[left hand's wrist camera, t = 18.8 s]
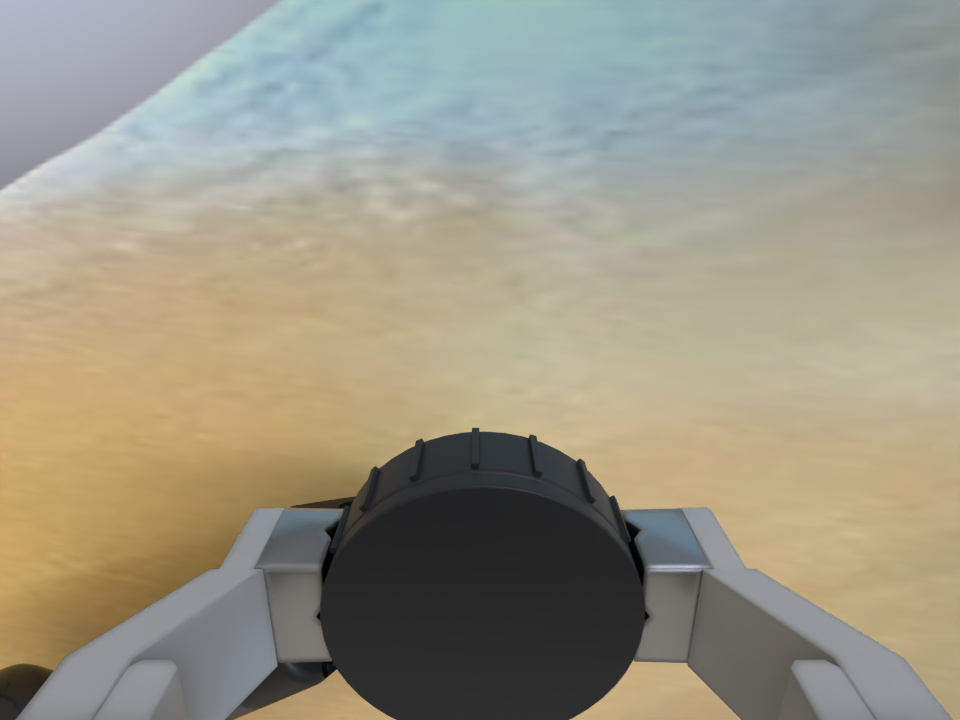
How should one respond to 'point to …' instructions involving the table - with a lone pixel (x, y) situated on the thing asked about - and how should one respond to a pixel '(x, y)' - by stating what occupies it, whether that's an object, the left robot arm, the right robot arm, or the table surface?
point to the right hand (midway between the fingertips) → (485, 539)
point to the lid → (482, 584)
